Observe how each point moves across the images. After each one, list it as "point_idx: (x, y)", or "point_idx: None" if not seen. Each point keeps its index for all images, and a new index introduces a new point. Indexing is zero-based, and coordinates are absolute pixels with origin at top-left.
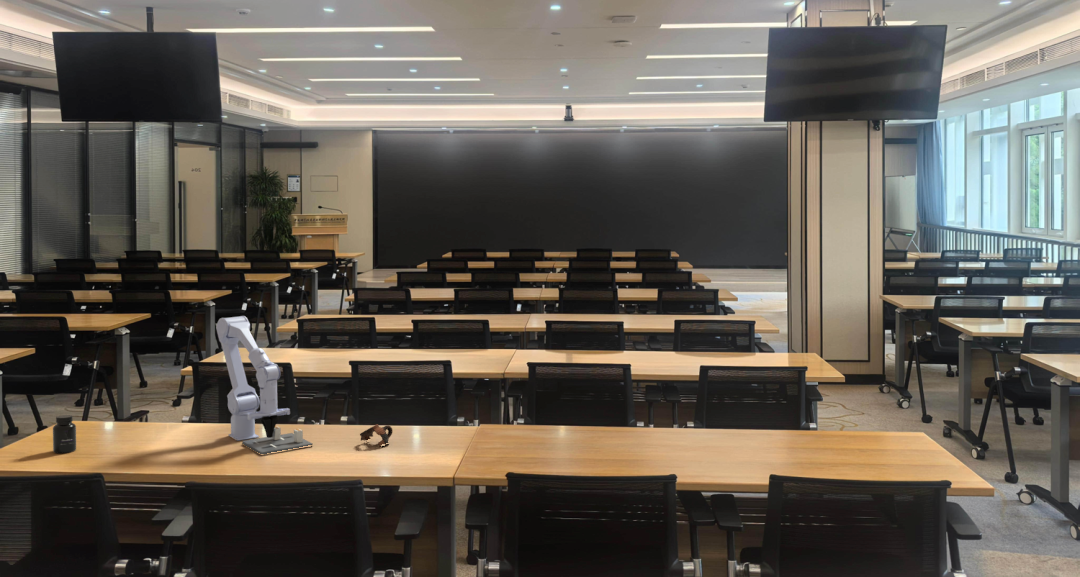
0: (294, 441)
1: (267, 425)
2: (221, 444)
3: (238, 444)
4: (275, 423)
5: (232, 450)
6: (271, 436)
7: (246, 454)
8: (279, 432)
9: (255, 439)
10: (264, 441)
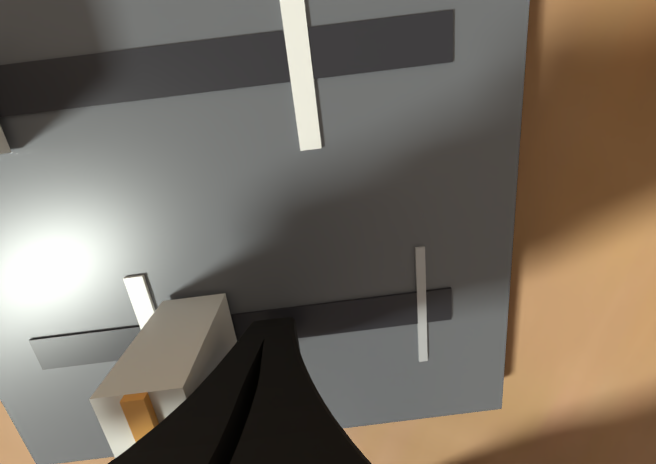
0: (9, 144)
1: (314, 425)
2: (606, 445)
3: (510, 396)
4: (129, 459)
5: (637, 249)
6: (258, 324)
7: (617, 17)
8: (140, 350)
9: (387, 406)
10: (338, 301)
